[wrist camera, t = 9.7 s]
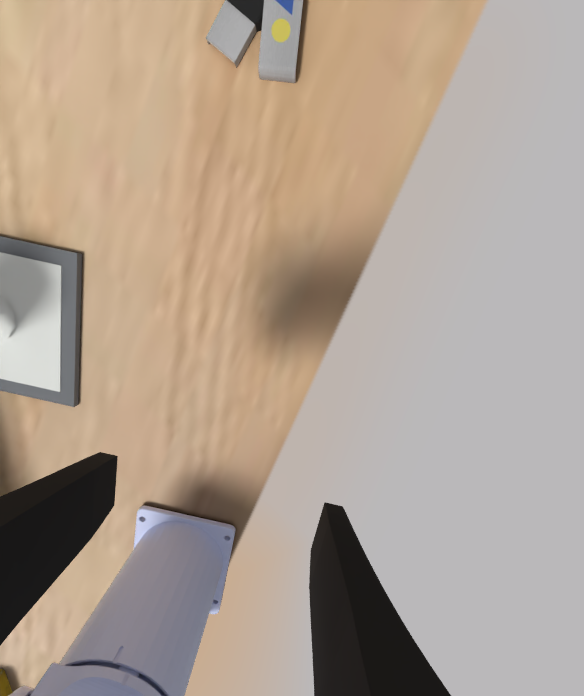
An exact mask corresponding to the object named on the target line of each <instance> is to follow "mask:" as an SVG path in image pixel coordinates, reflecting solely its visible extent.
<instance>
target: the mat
mask: <svg viewBox="0 0 584 696" xmlns="http://www.w3.org/2000/svg"><path fill="white" fill-rule="evenodd" d="M81 281H82V254H80V253H76V252H71V251H67V250H62V249H57V248H53V247H48V246H44V245H39V244H35V243H30V242H26V241H21V240H16V239H12V238H7V237H3V236H0V297H1V298H3V299H5V300H6V301H7V303H8V304H9V306H10V307H11V308H12V310H13V311H14V313H15V322H16V328H15V329H14V331H13V332H12V333H11V335H10V336H9V337H8V338H5V339H1V340H0V391H5V392H9V393H14V394H18V395H23V396H27V397H32V398H36V399H41V400H45V401H50V402H54V403H59V404H63V405H68V406H72V407H75V406H77V405H78V399H79V359H80V320H81Z"/></svg>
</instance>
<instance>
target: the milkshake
mask: <svg viewBox="0 0 584 696" xmlns="http://www.w3.org/2000/svg"><path fill="white" fill-rule="evenodd" d="M15 328H16V322H15V313H14V311H13V310H12V308H11V307H10V306H9V304H8V303H7V301H6V300H5V299H3V298H1V297H0V340H1V339H5V338H8V337H9V336H10V335H11V333H12V332H13V331H14V329H15Z"/></svg>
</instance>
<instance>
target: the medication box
mask: <svg viewBox="0 0 584 696" xmlns="http://www.w3.org/2000/svg"><path fill="white" fill-rule="evenodd" d="M12 693H13V692H12V690H11V687H10V684H9V681H8V678H7V676H6V673H5V670H4V669H0V696H8V695H10V694H12Z"/></svg>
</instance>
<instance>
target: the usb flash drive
mask: <svg viewBox="0 0 584 696" xmlns="http://www.w3.org/2000/svg"><path fill="white" fill-rule="evenodd" d="M302 7H303V0H225V2H224V4H223V6H222V8H221V9H220V11H219V13H218V15H217V17H216V19H215V21H214V23H213V25H212V27H211V29H210V31H209V33H208V35H207V37H206V39H207V42H208V44H210V43H211V44H212V45H213V46H214V47H216V48H217V49H218V50H219V51H220V52H222V53H223V54H224V55H225V56H226V57H228V58H229V59H230V60H231V61H232V62H234V63H235V65H236V68H237V66H238V64H239V63H240V61H241V59H242V57H243V55H244V54H245V52H246V50H247V48H248V46H249V45H250V43H251V41H252V39H253V37H254V35H255V34H256V32H258V31H261V30H262V31H261V42H260V54H259V77H260V79H262V80H271V81H280V82H288V83H296V80H295V73H296V62H297V53H298V44H299V34H300V25H301V16H302Z"/></svg>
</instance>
